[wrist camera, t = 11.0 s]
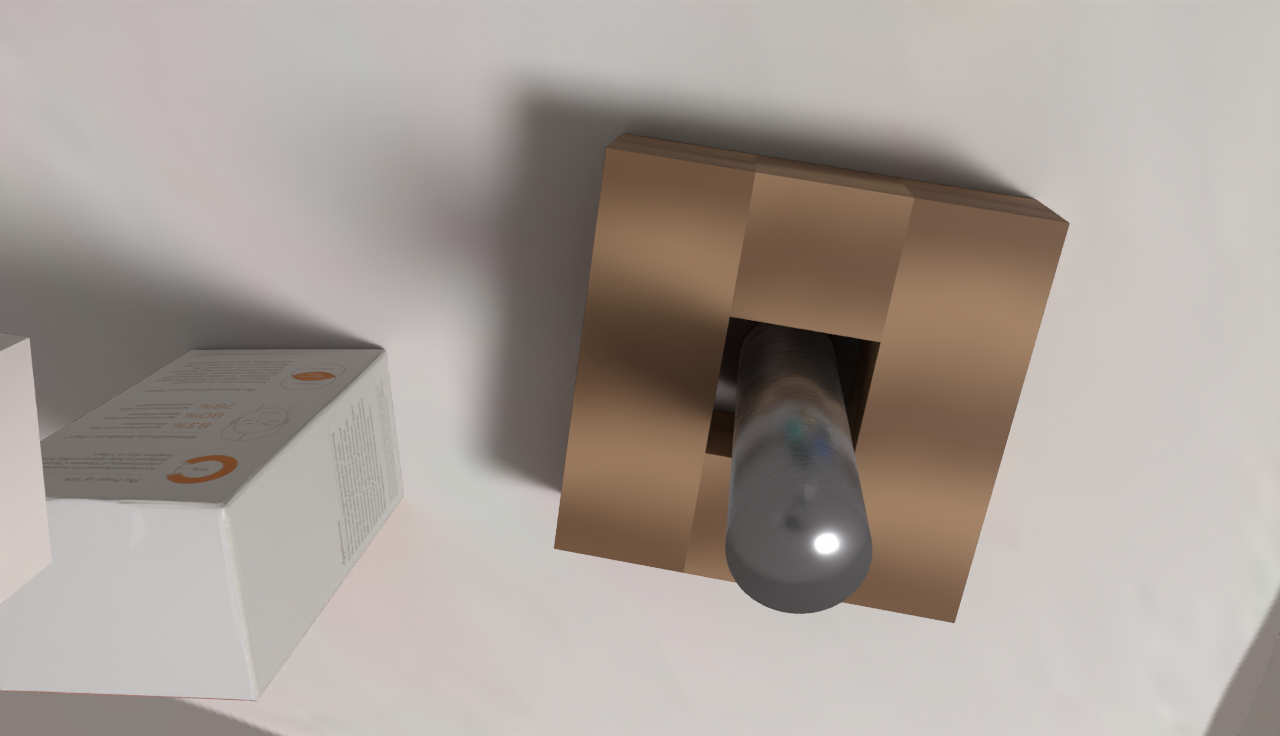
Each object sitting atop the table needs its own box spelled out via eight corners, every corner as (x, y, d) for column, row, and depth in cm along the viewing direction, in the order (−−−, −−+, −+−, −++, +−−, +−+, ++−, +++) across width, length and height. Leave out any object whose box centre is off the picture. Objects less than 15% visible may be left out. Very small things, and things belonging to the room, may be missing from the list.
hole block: (622, 133, 35) (606, 147, 32) (1036, 199, 35) (1069, 222, 31) (573, 498, 40) (554, 548, 36) (936, 564, 39) (954, 622, 36)
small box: (216, 495, 42) (-9, 696, 30) (188, 346, 40) (-66, 495, 28) (410, 499, 41) (259, 707, 29) (392, 346, 39) (221, 500, 27)
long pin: (748, 307, 37) (739, 472, 24) (843, 323, 37) (886, 498, 24) (731, 395, 38) (714, 599, 25) (824, 411, 38) (855, 625, 25)
